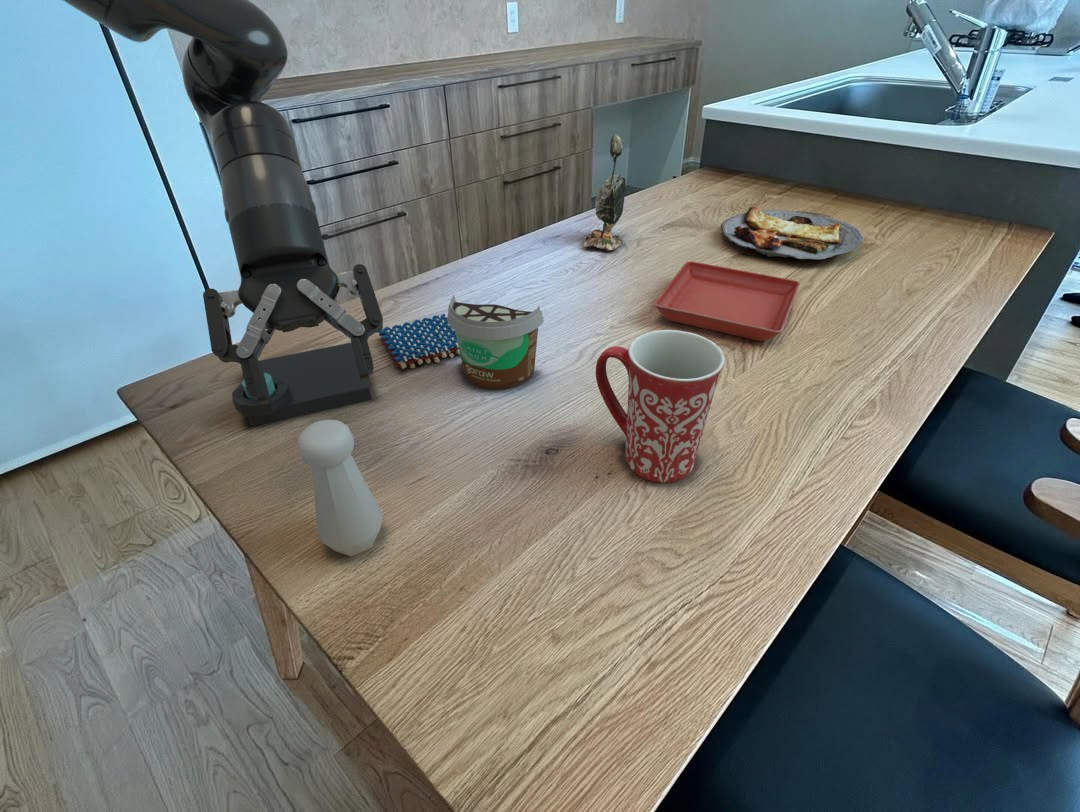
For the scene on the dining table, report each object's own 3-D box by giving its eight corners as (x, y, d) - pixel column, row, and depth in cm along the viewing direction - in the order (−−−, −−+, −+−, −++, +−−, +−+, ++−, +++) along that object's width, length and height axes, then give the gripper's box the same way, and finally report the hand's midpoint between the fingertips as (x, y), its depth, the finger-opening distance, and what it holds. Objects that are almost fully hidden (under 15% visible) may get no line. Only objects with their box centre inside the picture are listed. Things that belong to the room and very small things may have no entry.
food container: (438, 386, 75) (428, 316, 69) (457, 361, 79) (449, 294, 73) (530, 402, 72) (527, 330, 66) (544, 375, 76) (543, 306, 70)
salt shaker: (395, 547, 54) (368, 439, 46) (332, 574, 52) (293, 464, 44) (375, 507, 58) (347, 401, 50) (316, 530, 56) (278, 423, 48)
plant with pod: (635, 236, 115) (645, 126, 104) (610, 256, 108) (617, 139, 96) (598, 229, 119) (603, 122, 107) (571, 248, 111) (573, 134, 99)
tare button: (246, 403, 67) (241, 390, 66) (246, 388, 69) (241, 376, 68) (276, 396, 68) (271, 384, 67) (275, 382, 70) (270, 370, 69)
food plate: (700, 246, 111) (702, 228, 109) (746, 212, 126) (750, 196, 124) (838, 278, 99) (844, 258, 97) (871, 237, 113) (877, 219, 111)
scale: (241, 434, 67) (231, 410, 65) (242, 376, 77) (233, 354, 75) (373, 404, 72) (368, 380, 70) (358, 353, 82) (353, 331, 80)
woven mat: (474, 354, 81) (472, 341, 80) (399, 374, 77) (396, 361, 76) (448, 322, 88) (446, 310, 87) (378, 339, 85) (376, 326, 83)
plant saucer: (796, 299, 93) (801, 279, 91) (776, 352, 80) (782, 331, 78) (684, 278, 100) (687, 259, 98) (650, 324, 87) (652, 304, 85)
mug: (717, 453, 64) (740, 346, 56) (680, 502, 58) (700, 391, 50) (616, 412, 70) (624, 310, 62) (574, 453, 64) (576, 347, 56)
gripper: (355, 229, 59) (395, 382, 57) (200, 251, 55) (238, 417, 53) (351, 190, 52) (397, 363, 50) (173, 212, 48) (216, 402, 46)
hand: (315, 391), depth 52 cm, fingers open, 8 cm apart
